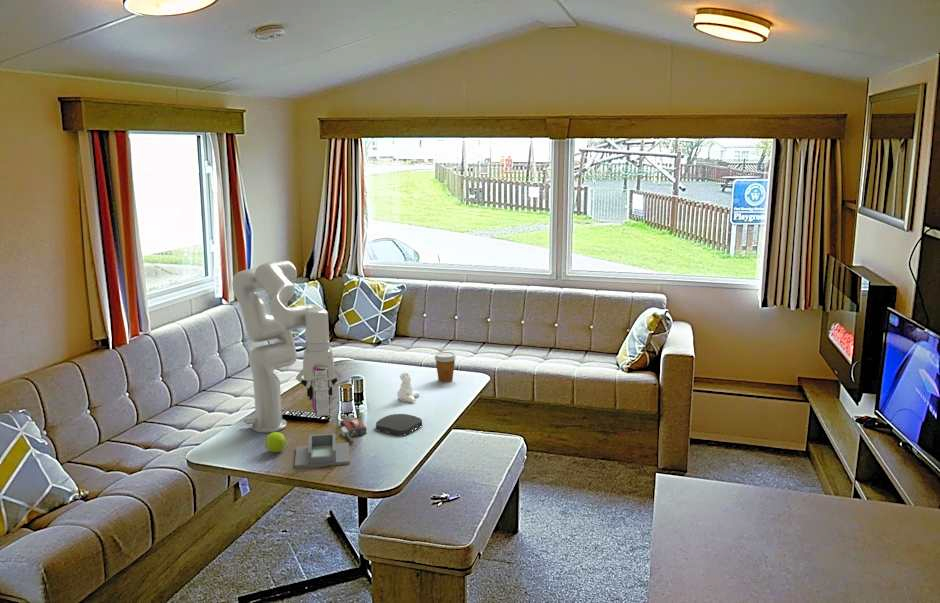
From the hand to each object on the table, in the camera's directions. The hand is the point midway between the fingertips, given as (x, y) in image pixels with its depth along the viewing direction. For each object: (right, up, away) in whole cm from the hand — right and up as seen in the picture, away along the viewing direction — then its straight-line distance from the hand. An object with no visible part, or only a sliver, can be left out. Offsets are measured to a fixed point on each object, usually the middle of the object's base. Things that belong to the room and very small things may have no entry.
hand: (320, 397), depth 256 cm
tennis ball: (-17, -20, +8) cm, 28 cm away
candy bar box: (0, -5, +1) cm, 5 cm away
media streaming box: (+24, -15, +30) cm, 42 cm away
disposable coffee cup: (+39, -3, +84) cm, 93 cm away
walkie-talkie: (+8, -17, +25) cm, 31 cm away
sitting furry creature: (+24, -9, +60) cm, 66 cm away
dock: (0, -21, +4) cm, 21 cm away
